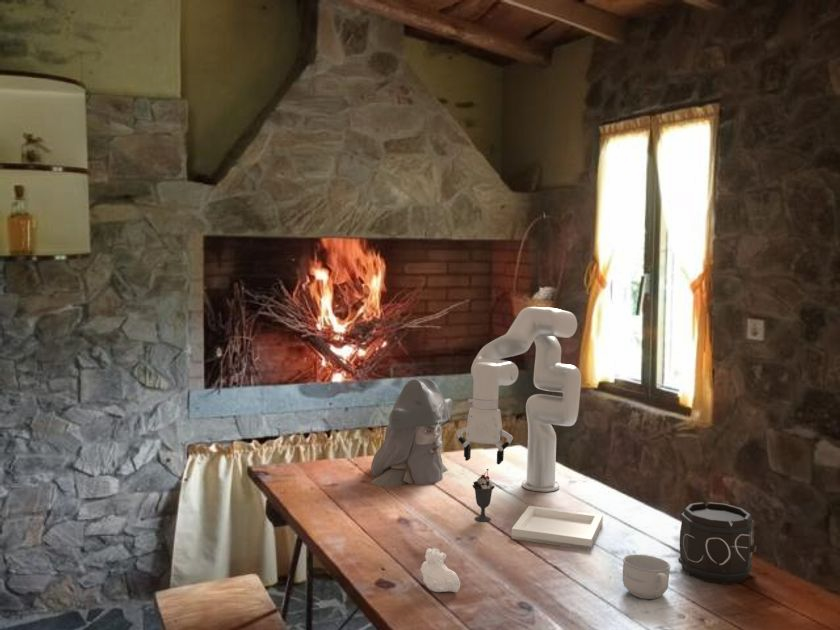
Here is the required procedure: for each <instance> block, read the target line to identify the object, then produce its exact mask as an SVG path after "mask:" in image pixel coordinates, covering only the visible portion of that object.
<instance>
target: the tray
mask: <svg viewBox="0 0 840 630" xmlns="http://www.w3.org/2000/svg"><path fill="white" fill-rule="evenodd" d="M603 516H604V514H597V513H590V512H582V511H574V510H568V509H566V510H565V509H561V508H559V509H558V508H551V507H542V506H536V505H528V507H527V508H526V509H525V511H524V512H523V513H522V514H521V516H520V517H519V518H518V520H517V521H516V523H515V524H514V525H513V527H512V528H511V540H516V541H522V542H523V541H524V542H532V543H539V544H544V543H545V545H546V544H547V545H553V546H559V547H568V548H573V549H579V550H585V551H586V550H588V551H592V549H593V547H594V544H595V542H596V540H597V538H598V535H599V533H600V531H601V529H602V527H603V521H604V519H603V518H604V517H603Z"/></svg>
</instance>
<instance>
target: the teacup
mask: <svg viewBox="0 0 840 630" xmlns="http://www.w3.org/2000/svg"><path fill="white" fill-rule="evenodd" d="M622 560H623V563H622V583H623V587H625V589H626V590H627V591H629V593H630V594H631V595H632V596H635V597H637V598H640V599H646V600H654V599H657V598H659V597H660V596H663V595H664V594H665V593H666V592H667V590H668V588H669V580H670V570H671V564H670V563H669V562H668V561H666V560H665V559H662V558H659V557H656V556H652V555H648V554H630V555H629V554H628V555H625V556H624V557H623V558H622Z"/></svg>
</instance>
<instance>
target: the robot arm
mask: <svg viewBox="0 0 840 630" xmlns="http://www.w3.org/2000/svg"><path fill="white" fill-rule="evenodd" d="M577 329H578V321H577V317H576V315H575V314H574V313H573V312H571V311H568V310H562V309H559V308H554V307H541V306H527V307H525V308H522V309H521V310H520V311H519V312H518V315H517V316H516V318H515V319H514V320H513V322H512V324H511V325H510V327H509V329H508V331H507V332H506V333H505V334H504V335H501V336H499V337H497V338H495V339H493V340H492V341H490V342H489V343H486V344H485V345H484V346H483V347H482V348H481V349H480V350H479V352H477V355H476V357H475V358H474V359H473V362H472V364H471V368H470V374H471V377H472V379H473V382H472V383H473V386H472V388H473V389H472V398H468V399H467V404H470V405H471V407H470V408H469V410H468V414H467V420H466V426H464V427H462V428H461V429H457V430H456V431H455V433H456V437H457V438H458V441H459V442H460V444H461V445H462V447H463V458H464V460H465V461H466V462H467V461H470V459H471V450H472V449H471V448H472V446H471V445H470V444H471V443H473V444H480V445H481V444H483V445H491V446H492V445H495V446H496V448H497V451H496V452H497V453H496V464H497V465H500V464H502V462H503V461H504V453H505V451H504V450H505V449H507V448H508V447H509V446H510V445H511V443H512V441H513V439H514V436H513V435H512V434H510V433H509V432H508V431H506V430H504V429H503V423H502V422H503V421H502V413H501V409H500V408H499V393H500V392H499V391H500V386H511V385H513V384H515V382H517V380H518V378H519V368H518V366H517V365H516V363H515V362H512V361H510V360H504V359H506V358H511V357H516V356H518V355H522V354H524V353H526V352H528V350H529V349H530V348H531V346H532V344H533V343H534V345H535V358H534V367H533V385H534V387H535V388H537V389H538V390H542V391H546V392H554V393H555V392H556V393H562V396H561V395H559V396H558V395H551V394H544V393H538V394H537V393H536V394H533V395H531V396H529V397H528V398H527V401H526V403H525V413H526V419H527V431H528V432H527V438H528V439H527V455H526V457H527V459H526V462H527V463H526V465H527V466H526V479H523V480H522V482H521V486H522V488H524V489H525V490H528V491H533V492H543V493H544V492H546V493H547V492H554V491H557V490H559V489H560V483H559V482H558V481H556V467H557V466H556V464H557V463H556V460H557V459H556V457H557V456H556V455H557V433H556V432H555V429H554V427H553V426H552V425H554V426H562V427H571V426H574V425H575V423H576V422H577V421H578V417H579V408H580V398H581V387H582V374H581V371H580V369H579V368H578V367H577V366H576V365H573V364H568V363H567V364H566V363H562V360H561V359H562V347H561V344H560V342H559V340H558V338H566V339H567V338H568V339H569V338H571V337H573V336H574V335H575V333H576V331H577ZM463 433H465V437H464V436H463ZM503 438H506V440H505V442H504V443H503V442H502V439H503Z"/></svg>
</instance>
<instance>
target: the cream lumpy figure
mask: <svg viewBox="0 0 840 630" xmlns="http://www.w3.org/2000/svg"><path fill="white" fill-rule="evenodd" d="M424 557H425V561H423V562H422V564H421V566H420V569H419V571H421V572H420V573H421V574H422V578H423V581H422V582H423V583H424V584H425V586H426V587H427V589H428V590H430V591H432V592H435V593H443V592H450V593H451V592H452V593H457V592H458V591H459V590H460V587H461V580H460V578H459V577H458V574H457V573H456V572H455V571H453V570H452V569H450V568H448V566H447V565H446V564H445V563H444V561H445V559H446V558H447V554H446V553H445V552H443V551H442V552H440V549H439V548H435V547H433V548H430V547H428V548H427V549H426V551H425V555H424Z"/></svg>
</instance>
